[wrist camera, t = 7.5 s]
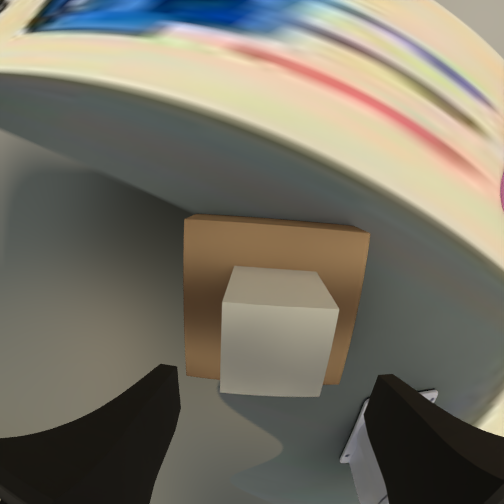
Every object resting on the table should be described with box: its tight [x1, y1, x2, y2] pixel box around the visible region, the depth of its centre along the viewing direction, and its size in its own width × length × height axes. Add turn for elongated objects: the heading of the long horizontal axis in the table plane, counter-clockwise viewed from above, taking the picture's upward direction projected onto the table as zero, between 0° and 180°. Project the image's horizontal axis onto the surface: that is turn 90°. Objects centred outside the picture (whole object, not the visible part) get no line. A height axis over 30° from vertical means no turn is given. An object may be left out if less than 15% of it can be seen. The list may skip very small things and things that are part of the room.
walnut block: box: [183, 214, 370, 385], centre depth 17 cm, size 10×10×3 cm
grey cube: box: [220, 266, 339, 397], centre depth 13 cm, size 4×4×5 cm
